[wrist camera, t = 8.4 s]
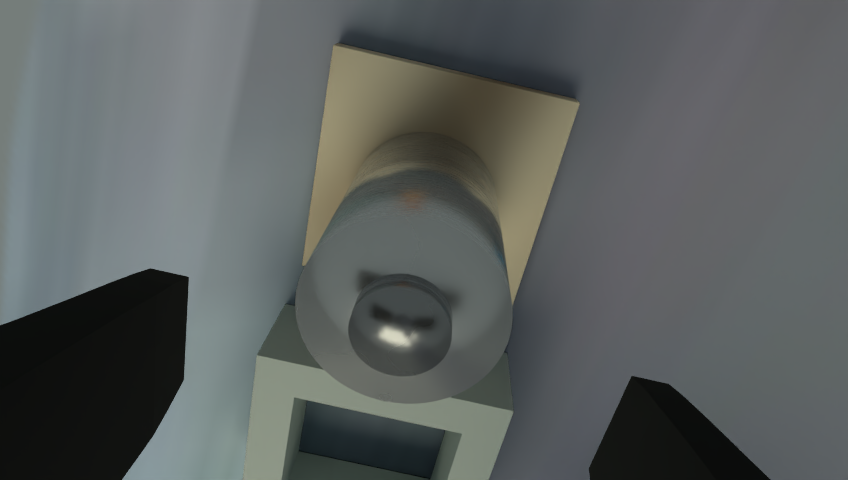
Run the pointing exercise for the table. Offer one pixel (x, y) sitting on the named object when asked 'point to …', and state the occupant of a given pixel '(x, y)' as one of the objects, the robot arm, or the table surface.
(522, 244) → the coaster
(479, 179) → the grey cylinder
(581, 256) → the table surface
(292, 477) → the housing
